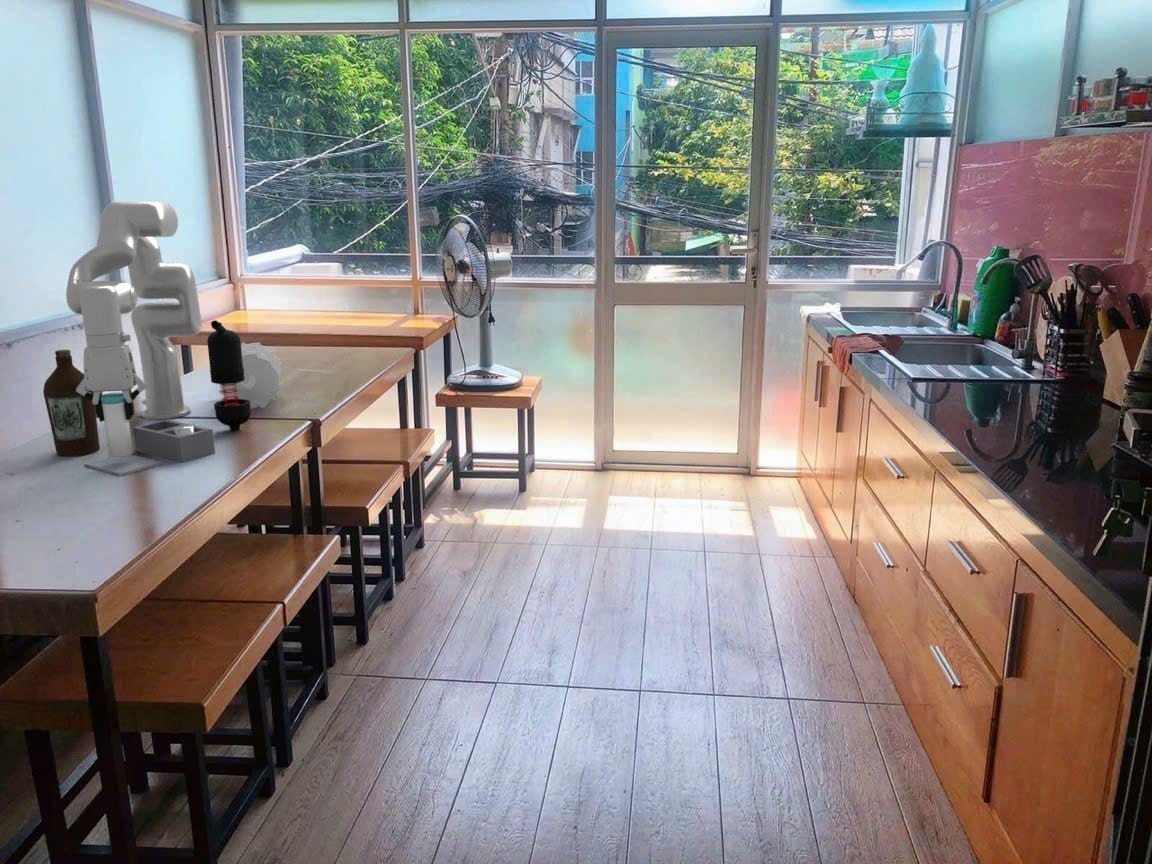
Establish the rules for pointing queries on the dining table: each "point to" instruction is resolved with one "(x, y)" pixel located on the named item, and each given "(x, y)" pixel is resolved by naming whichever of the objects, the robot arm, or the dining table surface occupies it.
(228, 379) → the filter
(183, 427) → the silver metallic cylinder
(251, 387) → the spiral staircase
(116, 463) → the mat
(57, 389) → the olive oil
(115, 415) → the cylinder
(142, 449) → the housing
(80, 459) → the dining table surface
